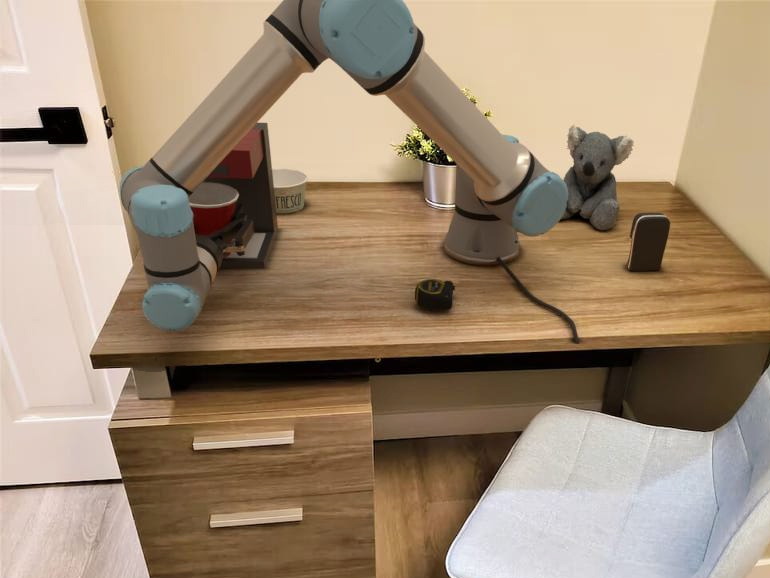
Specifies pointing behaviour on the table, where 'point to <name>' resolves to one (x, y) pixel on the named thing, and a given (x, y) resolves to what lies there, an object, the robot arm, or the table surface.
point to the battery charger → (648, 241)
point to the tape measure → (434, 294)
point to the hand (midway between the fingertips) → (221, 209)
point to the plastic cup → (212, 207)
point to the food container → (289, 189)
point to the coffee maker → (251, 194)
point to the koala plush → (594, 176)
